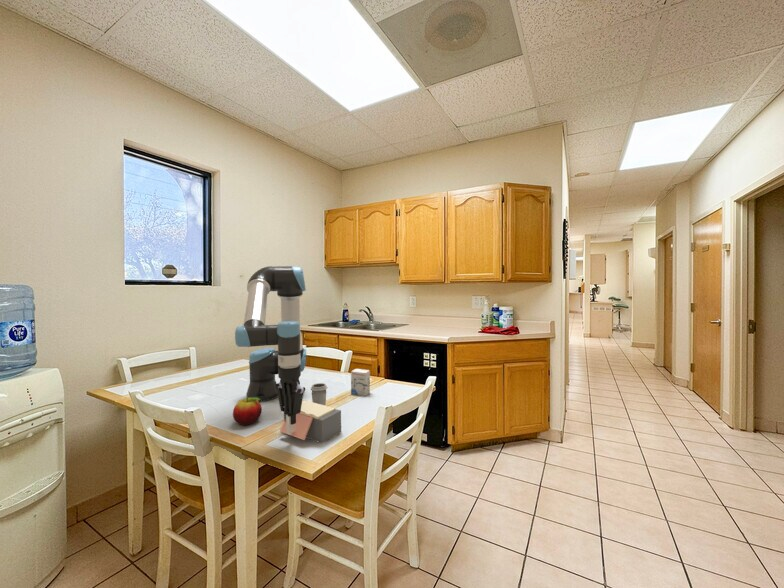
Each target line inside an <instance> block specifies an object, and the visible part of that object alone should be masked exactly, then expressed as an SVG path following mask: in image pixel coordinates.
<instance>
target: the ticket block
mask: <svg viewBox="0 0 784 588" xmlns="http://www.w3.org/2000/svg"><path fill="white" fill-rule="evenodd" d="M298 414H302V415H305V416H308V417H311V418H313V420H312V423H311V425H310V428H309V430H308V433H307V435H306V438H305V439H310V440H312V441H314V440H315V441H316V442H317V441H318V442H317V443H321V444H324V443H325V441H326V442H327V441H329V440H331V439H332V438H334V437H336V436H337V435H338V434H340V433H342V410H341V409H338V408H337V409H336V408H334V407H332V406H328V405H326V404H325V405H321V404H317V403H313V401H309V400H302V405H301V412H300V413H298ZM284 421H285V414H284V413H283V422H284Z"/></svg>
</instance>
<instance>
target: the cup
mask: <svg viewBox="0 0 784 588" xmlns="http://www.w3.org/2000/svg"><path fill="white" fill-rule="evenodd" d="M327 389H328V386H327V384H326V383H324V382H318V383H313V384H312V385H311V387H310V391H311V400H312V401H311V402H313V403H317V404H321V405H325V406H326V405H327Z"/></svg>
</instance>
